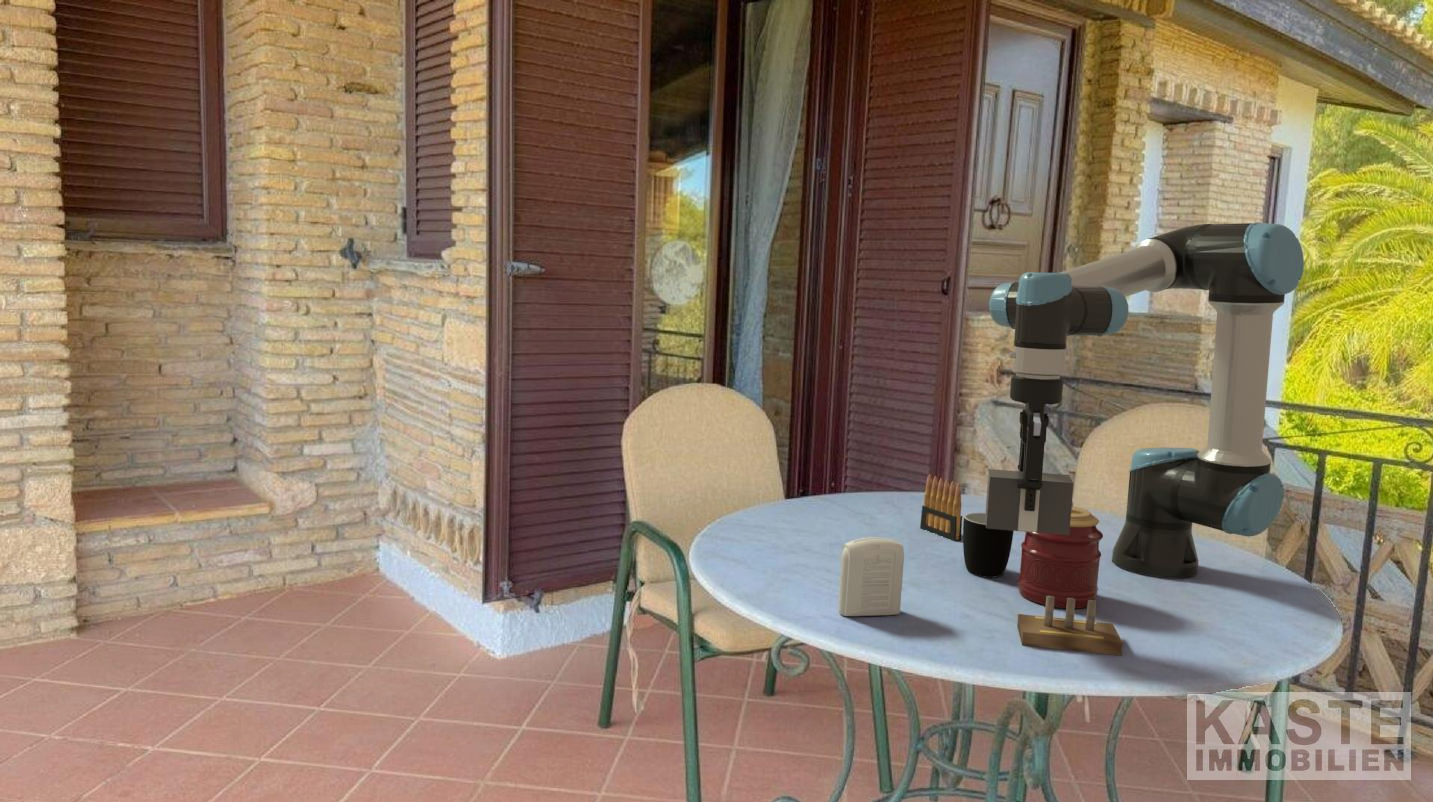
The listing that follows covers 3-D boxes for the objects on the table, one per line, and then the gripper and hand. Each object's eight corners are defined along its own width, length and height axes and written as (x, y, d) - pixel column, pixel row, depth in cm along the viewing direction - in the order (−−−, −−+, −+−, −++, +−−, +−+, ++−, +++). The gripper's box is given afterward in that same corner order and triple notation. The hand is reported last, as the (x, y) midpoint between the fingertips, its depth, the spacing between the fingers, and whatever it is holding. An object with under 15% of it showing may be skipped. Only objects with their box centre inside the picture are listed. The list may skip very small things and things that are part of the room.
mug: (1019, 578, 181) (1024, 524, 179) (975, 580, 179) (979, 525, 177) (985, 559, 192) (989, 507, 191) (943, 561, 190) (947, 509, 189)
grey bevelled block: (1065, 525, 155) (1069, 474, 154) (1069, 535, 149) (1073, 483, 148) (985, 518, 158) (988, 469, 156) (986, 528, 152) (989, 476, 151)
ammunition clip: (961, 540, 205) (965, 483, 203) (954, 541, 204) (958, 484, 202) (926, 527, 214) (930, 472, 213) (919, 528, 213) (923, 473, 212)
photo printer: (893, 607, 163) (898, 533, 162) (904, 616, 159) (909, 541, 157) (833, 609, 161) (838, 535, 159) (843, 619, 157) (847, 542, 155)
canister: (1008, 583, 178) (1016, 486, 176) (1082, 586, 178) (1090, 489, 175) (1029, 608, 165) (1037, 504, 163) (1108, 612, 165) (1118, 507, 162)
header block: (1111, 636, 154) (1115, 595, 153) (1121, 655, 146) (1125, 613, 145) (1017, 626, 156) (1020, 586, 156) (1022, 644, 149) (1025, 602, 148)
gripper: (1008, 367, 160) (997, 508, 163) (1014, 381, 142) (1003, 539, 145) (1057, 370, 158) (1045, 512, 162) (1070, 384, 140) (1057, 544, 143)
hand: (1025, 524), depth 153 cm, fingers closed on grey bevelled block, 6 cm apart
